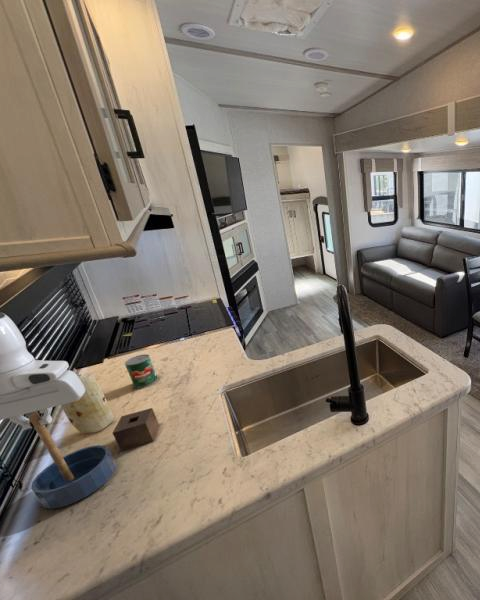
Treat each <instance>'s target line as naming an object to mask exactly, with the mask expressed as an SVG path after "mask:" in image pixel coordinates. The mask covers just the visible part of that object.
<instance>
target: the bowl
mask: <svg viewBox="0 0 480 600" xmlns="http://www.w3.org/2000/svg"><path fill="white" fill-rule="evenodd" d="M62 457H63V459H64V460H65V462H66V464H67V466H68V467H69V469H70V471H71V473H72V475H73V476H74V479H73V480H71V481H69V482H66V481H65V480H64V478H63V476H62V475H61V473H60V471H59V469H58V468H57V466H56V464H55V462H54V461H53V462H52V463H51V464H49V465H48V466H46V467H45V468H44V469H43V470H42V471H40V472H39V473H38V474H37V475H36V477H35V478H34V479H33V481H32V482H31V485H30V486H31V487H30V489H31V491H32V493H33V494H34V496H35V497H36V498H37V501H38V502H39V503H40V505H41V506H42V507H43V508H44V509H49V510H50V509H51V510H53V509H59V508H64V507H66V506H69V505H72V504H74V503H76V502H78V501H80V500H82V499H84V498H86V497H88V496H89V495H91V494H93V493H95V492H96V491H97V490H99V489H100V488H101V487H102V486H103V485H104V484H106V483H107V482H108V481H109V480H110V478H111V477H112V476H113V475H114V473H115V472H116V469H117V463H116V460H115V459H114V457H113V454H112V452H111V451H110V449H109V447H107V446H106V445H100V444H97V445H91V446H86V447H83V448H79V449H77V450H75V451H73V452H70V453H67V454H66V455H64V456H62Z"/></svg>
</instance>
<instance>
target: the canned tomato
mask: <svg viewBox="0 0 480 600" xmlns="http://www.w3.org/2000/svg"><path fill="white" fill-rule="evenodd" d="M124 365H125V368H126V370H127V373H128V375H129V377H130V380H131V382H132V384H133V387H134V388H135V389H143V388H147V387H149V386H151V385H153V384H156V382H157V381H158V380H159V377H158V375H157V372H156V371H155V367H154V365H153V362H152V359H151V356H150V355H149V354H147V353H146V354H145V353H144V354H138V355H136V356H133V357H131V358H129V359H127V360H125V362H124Z"/></svg>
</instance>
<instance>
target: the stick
mask: <svg viewBox="0 0 480 600" xmlns="http://www.w3.org/2000/svg"><path fill="white" fill-rule="evenodd" d="M26 416H27V417H28V418H27V419H30V421H31V423H32V425H33V426H34V428H33V429H34V430H35V431H36V433H37V435H38V437H39V438H40V440H41V442H42V444H43V445H44V447H45V449H46V450H47V452H48V454H49V456H50V457H51V459H52V461H53V463H54V462H55V464H56V466H57V468H58V469H59V471H60V473H61V475H62V476H63V478H64V480H65V481H66V482H69V481H71V480H73V479H74V476H73V475H72V473H71V471H70V469H69V467H68V466H67V464H66V462H65V460H64V459H63V457H64V456H63V455H62V453H61V451H60V450H59V448H58V446H57V444H56V443H55V440H54V439H53V437H52V435H51V433H50V432H49V430H48V428H47V427H46V425H42V426H41V425H40V423H39V422H38V420H39V419H40V418H41V416H40V414H39V411H35V412H31V413H27V414H26Z"/></svg>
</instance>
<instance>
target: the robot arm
mask: <svg viewBox="0 0 480 600" xmlns="http://www.w3.org/2000/svg"><path fill="white" fill-rule="evenodd" d="M69 367H70V364H69V362H68V361H66V360H39V359H35V357H34V356H33V355H32V354H31V353H30V352H29V351H28V349H27V342H26V340H25V338H24V336H23V334H22V333H21V331H20V329H19V328H18V326H17V325H16V324H15V322H14V321H13V320H12V319H11V317H9V316H8V315H7V314H5V313H3V312H1V311H0V421H2V420H6V419H8V420H9V421H10V422H12V423H14V424H16V425H19V426H21V427H22V429H23V431H27V430H30V429H35V428H34V426H33V425H32V423H31V421H30V419H29V418H27V417H26V416H24V415H27V413H31V412H35V411H37V412H39V413H40V414H43V415H42V416H40V419H39V420H38V422H39V423H40V425H41V426H42V425H45V426H46V425H49V424H51V423H52V422H53V418H52V416H51V414H52V411H53V408H54V407H58V406H59V407H60V406H61V405H63V404H67V403H71V402H75V401H78V400H79V399H80V398H81V397H82V396H83V394H84V393H85V387H84V385H83V384H82V382H81V380H80V379H79V377H78V376H77V375H78V374H77V373H76V372H74V371H72V370H70V369H69Z"/></svg>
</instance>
